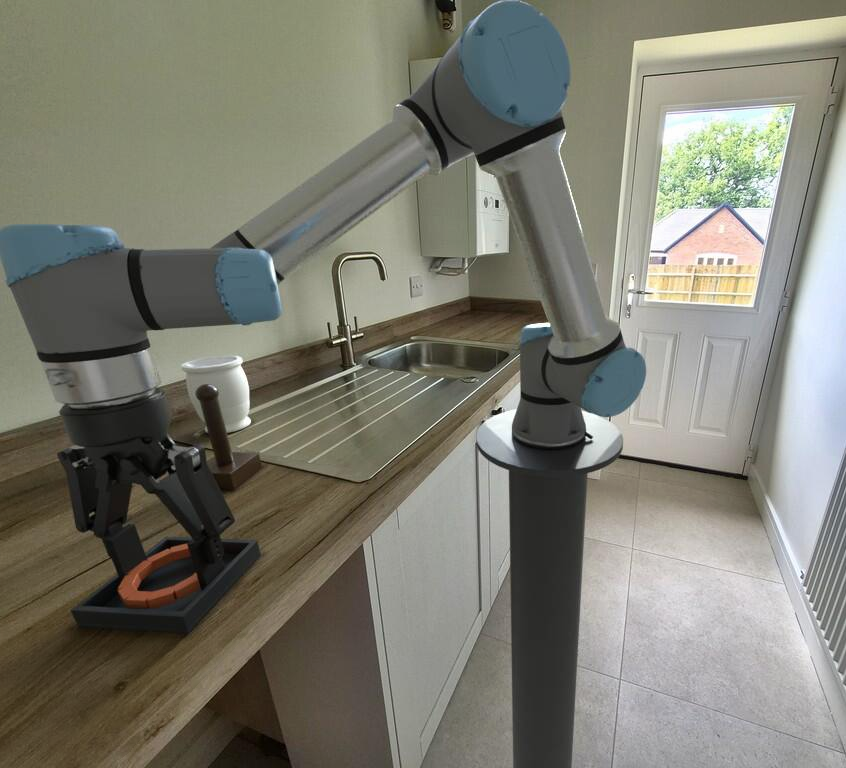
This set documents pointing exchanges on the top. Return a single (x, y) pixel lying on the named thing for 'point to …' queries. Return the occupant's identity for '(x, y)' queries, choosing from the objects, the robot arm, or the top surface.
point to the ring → (160, 597)
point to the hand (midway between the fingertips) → (175, 580)
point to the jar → (221, 387)
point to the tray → (173, 617)
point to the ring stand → (224, 444)
